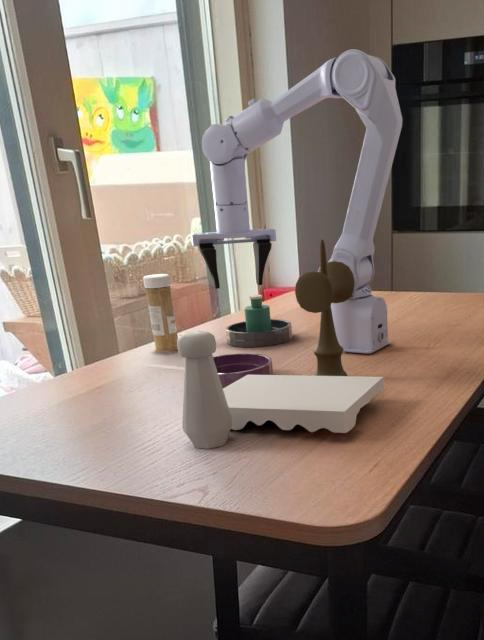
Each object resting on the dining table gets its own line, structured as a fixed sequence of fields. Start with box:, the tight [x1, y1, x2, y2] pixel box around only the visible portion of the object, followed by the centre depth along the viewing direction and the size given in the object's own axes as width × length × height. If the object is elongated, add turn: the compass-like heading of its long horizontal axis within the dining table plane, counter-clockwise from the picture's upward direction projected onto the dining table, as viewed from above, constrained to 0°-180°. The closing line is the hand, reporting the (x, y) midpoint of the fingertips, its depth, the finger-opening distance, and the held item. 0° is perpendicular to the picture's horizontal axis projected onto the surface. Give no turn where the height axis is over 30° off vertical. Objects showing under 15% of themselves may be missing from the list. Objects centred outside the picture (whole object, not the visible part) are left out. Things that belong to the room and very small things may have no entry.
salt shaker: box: [177, 330, 232, 450], centre depth 80 cm, size 6×6×13 cm
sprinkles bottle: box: [142, 273, 179, 353], centre depth 125 cm, size 5×5×13 cm
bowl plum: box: [213, 352, 274, 388], centre depth 105 cm, size 12×12×3 cm
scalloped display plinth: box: [223, 374, 384, 434], centre depth 90 cm, size 15×3×20 cm
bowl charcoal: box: [225, 318, 293, 348], centre depth 130 cm, size 12×12×3 cm
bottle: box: [244, 294, 272, 332], centre depth 129 cm, size 5×5×8 cm
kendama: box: [294, 239, 355, 376], centre depth 99 cm, size 6×10×20 cm, turn 160°
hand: (238, 286), depth 125 cm, fingers open, 7 cm apart
